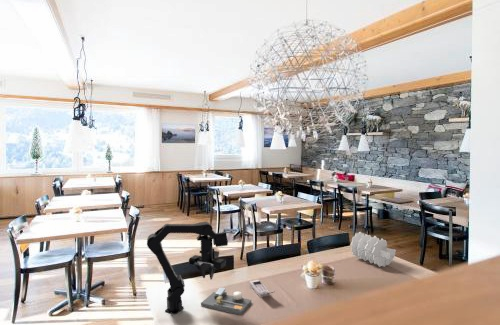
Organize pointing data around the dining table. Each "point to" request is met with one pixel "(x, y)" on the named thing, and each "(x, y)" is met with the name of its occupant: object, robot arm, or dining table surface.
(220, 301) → the wood grain cube
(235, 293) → the push button
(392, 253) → the spiral staircase
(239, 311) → the control panel
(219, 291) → the rocker switch
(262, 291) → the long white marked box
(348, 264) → the dining table surface
